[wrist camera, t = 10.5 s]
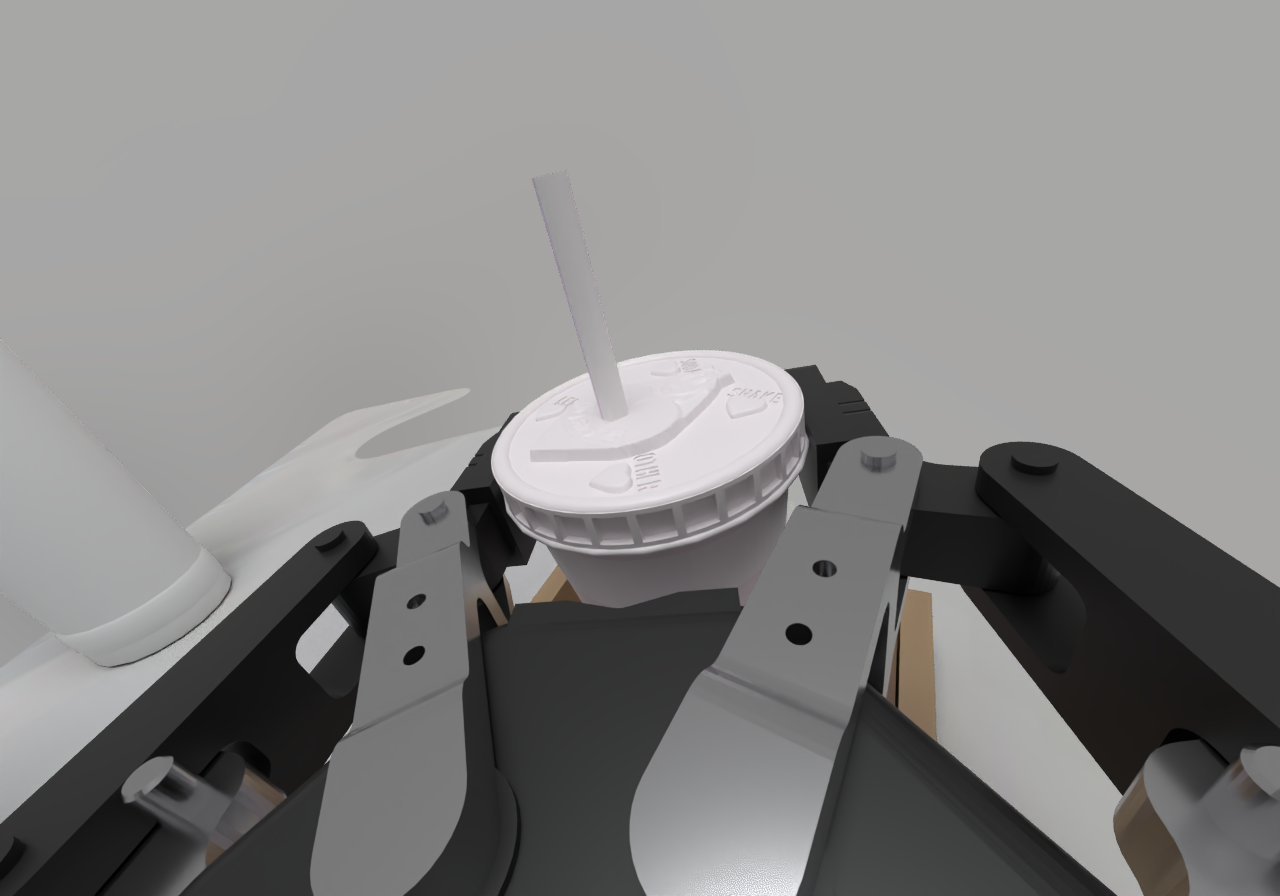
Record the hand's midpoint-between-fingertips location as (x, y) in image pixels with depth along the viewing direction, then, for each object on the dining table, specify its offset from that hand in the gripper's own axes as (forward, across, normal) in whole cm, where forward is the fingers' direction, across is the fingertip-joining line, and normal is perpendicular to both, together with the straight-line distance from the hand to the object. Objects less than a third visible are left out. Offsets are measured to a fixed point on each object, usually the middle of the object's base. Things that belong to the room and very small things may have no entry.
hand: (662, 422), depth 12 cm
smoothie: (-2, 0, +8) cm, 9 cm away
